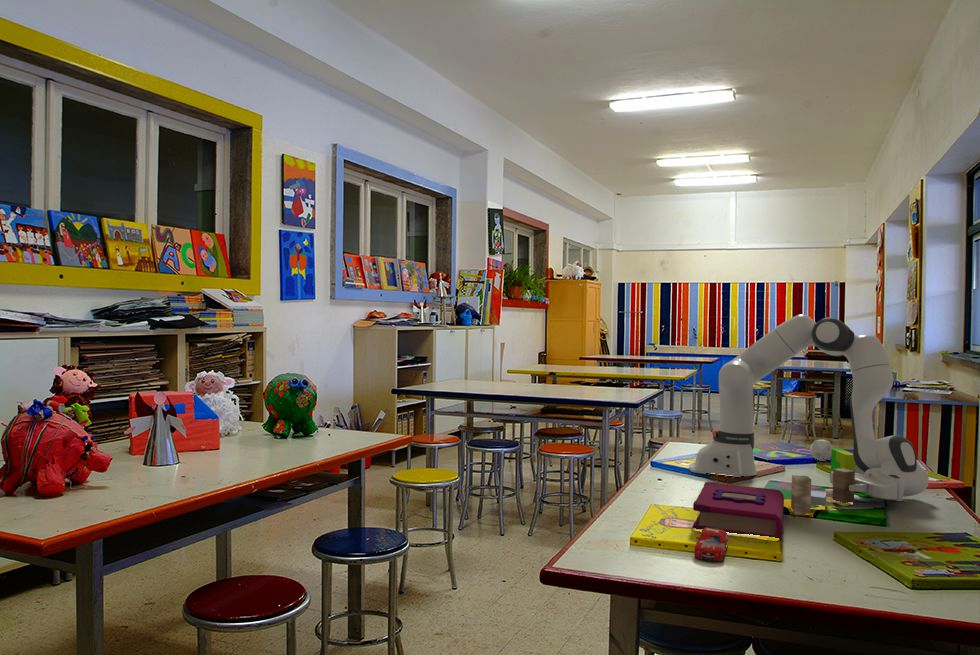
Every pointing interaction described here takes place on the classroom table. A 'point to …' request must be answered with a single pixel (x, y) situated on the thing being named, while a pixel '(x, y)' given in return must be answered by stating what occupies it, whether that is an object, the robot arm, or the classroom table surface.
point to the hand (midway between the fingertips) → (841, 485)
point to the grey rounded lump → (821, 450)
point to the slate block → (818, 498)
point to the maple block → (801, 494)
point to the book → (740, 509)
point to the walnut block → (843, 485)
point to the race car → (711, 544)
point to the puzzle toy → (844, 460)
